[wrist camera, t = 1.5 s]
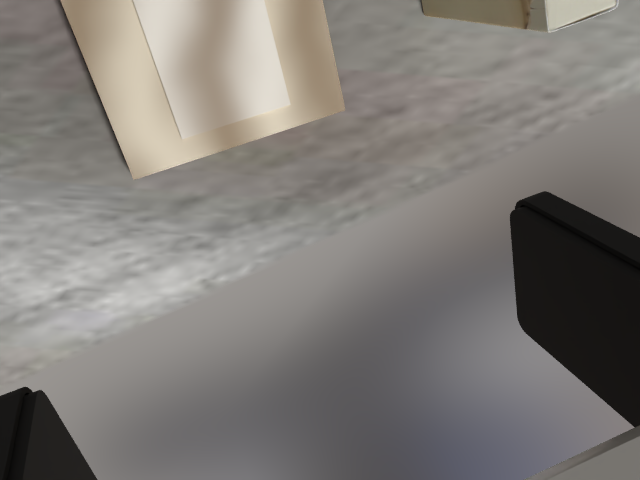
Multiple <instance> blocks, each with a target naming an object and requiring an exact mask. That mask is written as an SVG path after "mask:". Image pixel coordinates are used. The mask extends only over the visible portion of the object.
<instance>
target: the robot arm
mask: <svg viewBox="0 0 640 480" xmlns="http://www.w3.org/2000/svg"><path fill="white" fill-rule="evenodd" d="M510 226H511V239H512V252H513V265H514V279H515V292H516V305H517V317H518V321H519V323H520V326H521V327H522V329H523V330H524V332H526V334H527V335H528V336H530V337H531V338H532V339H533V340H534V341H535V342H537V343H538V344H539V345H540V346H541V347H542V348H544V349H545V350H546V351H547V352H548V353H549V354H551V355H552V356H553V357H554V358H555V359H556V360H557V361H559V362H560V363H561V364H562V365H563V366H564V367H566V368H567V369H568V370H569V371H570V372H571V373H572V374H574V375H575V376H576V377H577V378H578V379H580V380H581V381H582V382H583V383H584V384H585V385H586V386H588V387H589V388H590V389H591V390H592V391H593V392H595V393H596V394H597V395H598V396H599V397H600V398H602V399H603V400H604V401H605V402H606V403H607V404H608V405H610V406H611V407H612V408H613V409H614V410H615V411H616V412H618V413H619V414H620V415H621V416H622V417H623V418H625V419H626V420H627V421H628V422H629V423H630V424H632V425H633V426H634V427H635V428H633V429H631V430H629V431H627V432H625V433H623V434H620V435H618V436H616V437H614V438H612V439H610V440H608V441H606V442H603V443H601V444H599V445H597V446H595V447H593V448H591V449H589V450H586V451H584V452H582V453H580V454H578V455H576V456H574V457H572V458H569V459H567V460H565V461H563V462H561V463H559V464H557V465H555V466H552V467H550V468H548V469H546V470H544V471H542V472H540V473H538V474H535V475H533V476H531V477H529V478H527V479H525V480H640V238H639V237H637V236H635V235H633V234H631V233H629V232H627V231H625V230H623V229H621V228H619V227H617V226H615V225H613V224H611V223H609V222H607V221H605V220H603V219H601V218H599V217H597V216H595V215H593V214H591V213H589V212H587V211H585V210H583V209H581V208H579V207H577V206H575V205H573V204H571V203H569V202H567V201H565V200H563V199H561V198H559V197H557V196H555V195H553V194H551V193H549V192H541V193H538V194H535V195H533V196H530V197H527V198H525V199H522V200H520V201H518V202H517V203H516V206H515V210H513V211H512V212H511V214H510ZM0 480H97V478H96V477H95V475H94V473H93V472H92V470H91V468H90V467H89V465H88V463H87V462H86V460H85V459H84V457H83V455H82V454H81V452H80V450H79V449H78V447H77V445H76V444H75V442H74V440H73V439H72V437H71V435H70V434H69V432H68V430H67V429H66V427H65V425H64V424H63V422H62V421H61V419H60V418H59V415H58V414H57V412H56V410H55V409H54V407H53V405H52V404H51V402H50V401H49V399H48V397H47V396H46V395H45V393H44V392H43V391H42V390H39V391H36V392H32V390H30V389H29V388H28V387H23V388H20V389H17V390H15V391H12V392H10V393H7V394H4V395H2V396H0Z"/></svg>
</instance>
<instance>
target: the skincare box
mask: <svg viewBox="0 0 640 480" xmlns="http://www.w3.org/2000/svg"><path fill="white" fill-rule="evenodd" d="M618 2H619V0H422V6H423V12H424V15H425V16H430V17H439V18H446V19H453V20H461V21H468V22H475V23H483V24H490V25H497V26H504V27H512V28H519V29H527V30H533V31H540V32H547V33H550V32H553V31H556V30H559V29H562V28H565V27H568V26H571V25H573V24H577V23H579V22H582V21H585V20H587V19H590V18H593V17H596V16H599V15H601V14H604V13H606V12H609V11H612V10H614V9H616V8H617V6H618Z"/></svg>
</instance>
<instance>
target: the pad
mask: <svg viewBox="0 0 640 480" xmlns="http://www.w3.org/2000/svg"><path fill="white" fill-rule="evenodd" d="M60 1H61V3H62V6H63V8H64V10H65V13H66V15H67V18H68V20H69V23H70V25H71V28H72V30H73V32H74V35H75V37H76V40H77V42H78V45H79V47H80V50H81V52H82V54H83V57H84V59H85V62H86V64H87V67H88V69H89V72H90V74H91V76H92V79H93V81H94V84H95V86H96V89H97V91H98V94H99V96H100V98H101V101H102V103H103V106H104V108H105V111H106V113H107V116H108V118H109V120H110V123H111V125H112V128H113V130H114V133H115V135H116V138H117V140H118V142H119V145H120V147H121V150H122V152H123V155H124V157H125V160H126V162H127V164H128V167H129V169H130V172H131V174H132V177H133V179H134V180H135V179H138V178H141V177H144V176H147V175H150V174H153V173H156V172H159V171H162V170H165V169H169V168H172V167H175V166H178V165H181V164H184V163H187V162H190V161H193V160H196V159H199V158H202V157H205V156H208V155H211V154H214V153H217V152H220V151H223V150H226V149H229V148H232V147H235V146H238V145H241V144H244V143H247V142H250V141H253V140H256V139H259V138H262V137H265V136H268V135H271V134H275V133H278V132H281V131H284V130H287V129H290V128H293V127H296V126H299V125H302V124H305V123H308V122H311V121H314V120H317V119H320V118H323V117H326V116H329V115H332V114H335V113H338V112H341V111H344V110H345V106H344V101H343V96H342V92H341V87H340V82H339V77H338V72H337V68H336V63H335V58H334V53H333V48H332V44H331V39H330V34H329V29H328V24H327V20H326V15H325V10H324V5H323V0H60Z"/></svg>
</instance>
